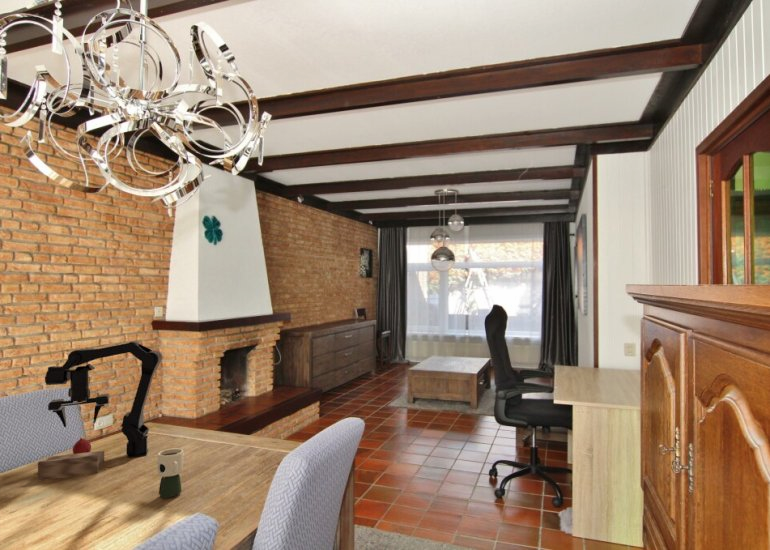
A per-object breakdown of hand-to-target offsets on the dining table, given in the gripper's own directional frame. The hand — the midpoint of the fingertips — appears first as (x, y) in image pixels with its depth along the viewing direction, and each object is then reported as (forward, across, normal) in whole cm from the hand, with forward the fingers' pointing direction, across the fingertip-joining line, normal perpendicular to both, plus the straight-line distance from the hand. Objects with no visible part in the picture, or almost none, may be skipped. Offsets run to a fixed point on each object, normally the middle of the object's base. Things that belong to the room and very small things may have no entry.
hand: (80, 425), depth 174 cm
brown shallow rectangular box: (+12, +1, +12) cm, 18 cm away
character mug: (+14, -30, +50) cm, 60 cm away
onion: (+13, 0, 0) cm, 13 cm away
